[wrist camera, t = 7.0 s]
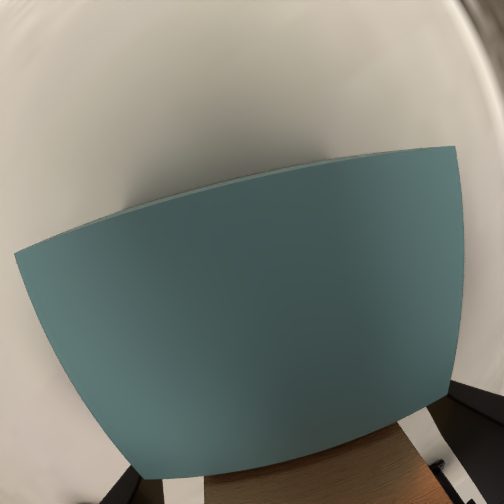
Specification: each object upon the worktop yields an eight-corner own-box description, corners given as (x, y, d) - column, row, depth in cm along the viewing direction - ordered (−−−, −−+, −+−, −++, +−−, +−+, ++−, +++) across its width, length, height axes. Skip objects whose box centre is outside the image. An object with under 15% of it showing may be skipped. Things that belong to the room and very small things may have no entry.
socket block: (331, 158, 10) (455, 145, 4) (354, 302, 12) (447, 394, 6) (121, 210, 10) (13, 253, 4) (170, 351, 12) (144, 479, 5)
